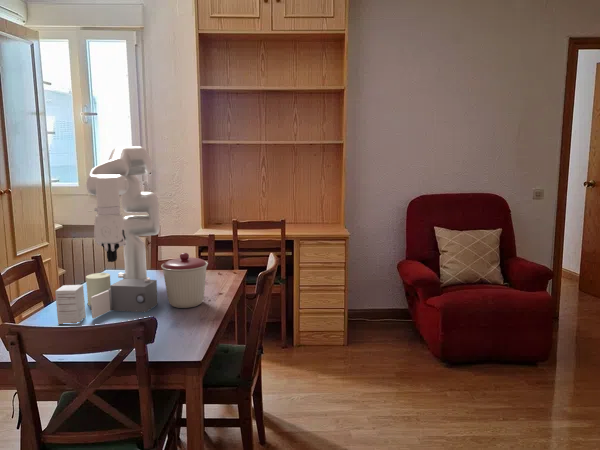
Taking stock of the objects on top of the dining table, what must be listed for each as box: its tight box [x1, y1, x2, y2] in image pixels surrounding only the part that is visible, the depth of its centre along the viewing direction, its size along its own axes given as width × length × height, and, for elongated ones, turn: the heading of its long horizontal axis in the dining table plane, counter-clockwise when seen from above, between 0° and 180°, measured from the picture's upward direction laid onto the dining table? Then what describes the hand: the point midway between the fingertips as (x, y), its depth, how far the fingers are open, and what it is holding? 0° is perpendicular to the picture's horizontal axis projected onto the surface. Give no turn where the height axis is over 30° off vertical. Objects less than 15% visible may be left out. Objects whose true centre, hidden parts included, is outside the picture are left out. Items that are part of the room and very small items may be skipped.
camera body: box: [110, 278, 159, 313], centre depth 187 cm, size 14×11×11 cm
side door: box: [89, 289, 112, 320], centre depth 179 cm, size 10×2×8 cm, turn 164°
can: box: [85, 272, 112, 307], centre depth 193 cm, size 9×9×12 cm
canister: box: [160, 252, 209, 309], centre depth 190 cm, size 18×18×21 cm
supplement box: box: [54, 284, 87, 324], centre depth 173 cm, size 7×7×13 cm
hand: (112, 261), depth 174 cm, fingers closed
